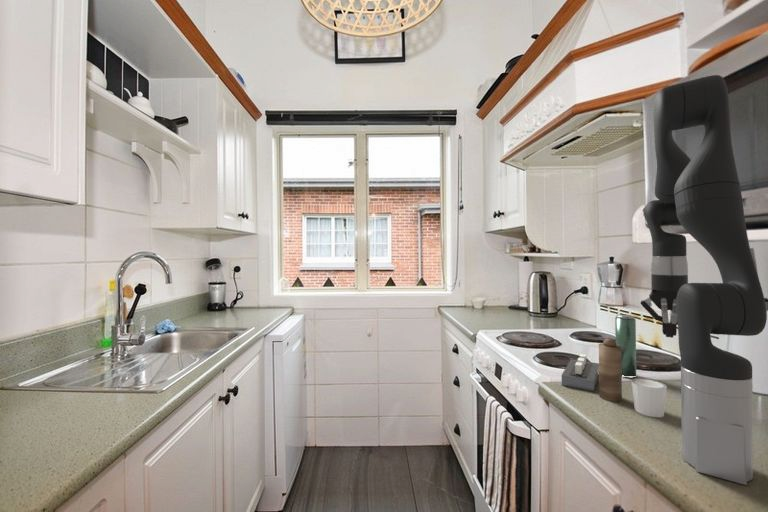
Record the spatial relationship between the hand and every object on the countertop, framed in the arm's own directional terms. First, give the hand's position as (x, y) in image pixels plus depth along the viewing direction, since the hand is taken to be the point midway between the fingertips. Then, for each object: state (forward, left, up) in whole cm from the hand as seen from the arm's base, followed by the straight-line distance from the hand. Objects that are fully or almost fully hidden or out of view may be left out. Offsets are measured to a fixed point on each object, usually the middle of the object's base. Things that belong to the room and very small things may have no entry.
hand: (669, 336), depth 90 cm
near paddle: (-5, +21, -13) cm, 25 cm away
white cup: (-15, +5, -16) cm, 23 cm away
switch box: (0, +21, -16) cm, 26 cm away
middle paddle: (0, +21, -13) cm, 25 cm away
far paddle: (+5, +21, -13) cm, 25 cm away
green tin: (+11, +10, -16) cm, 22 cm away
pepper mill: (-11, +13, -16) cm, 23 cm away
